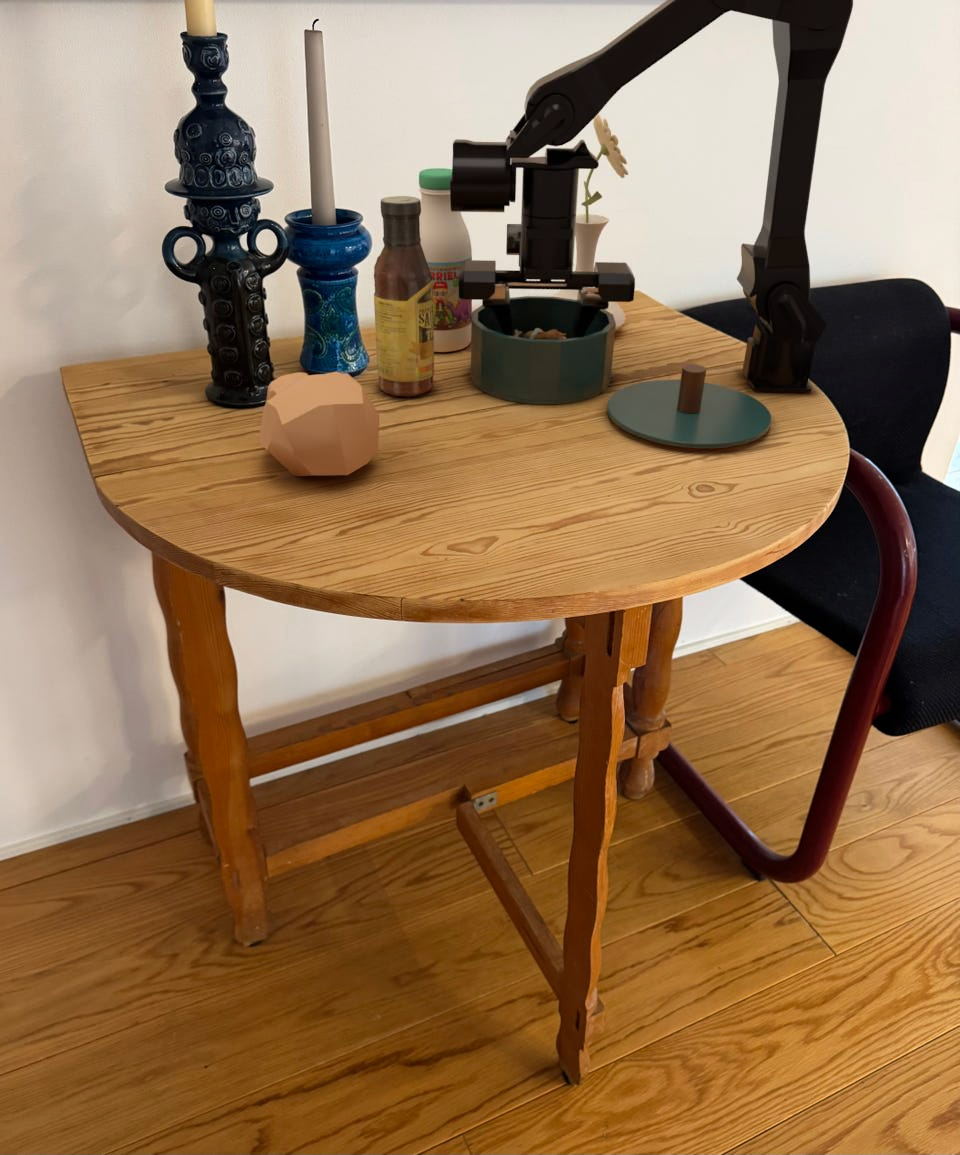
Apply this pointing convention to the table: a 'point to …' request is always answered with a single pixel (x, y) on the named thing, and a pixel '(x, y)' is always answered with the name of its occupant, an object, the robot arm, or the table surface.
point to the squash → (319, 424)
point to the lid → (689, 412)
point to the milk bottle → (445, 259)
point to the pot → (541, 353)
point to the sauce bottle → (403, 302)
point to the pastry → (541, 334)
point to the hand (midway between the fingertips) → (542, 357)
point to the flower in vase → (596, 216)
